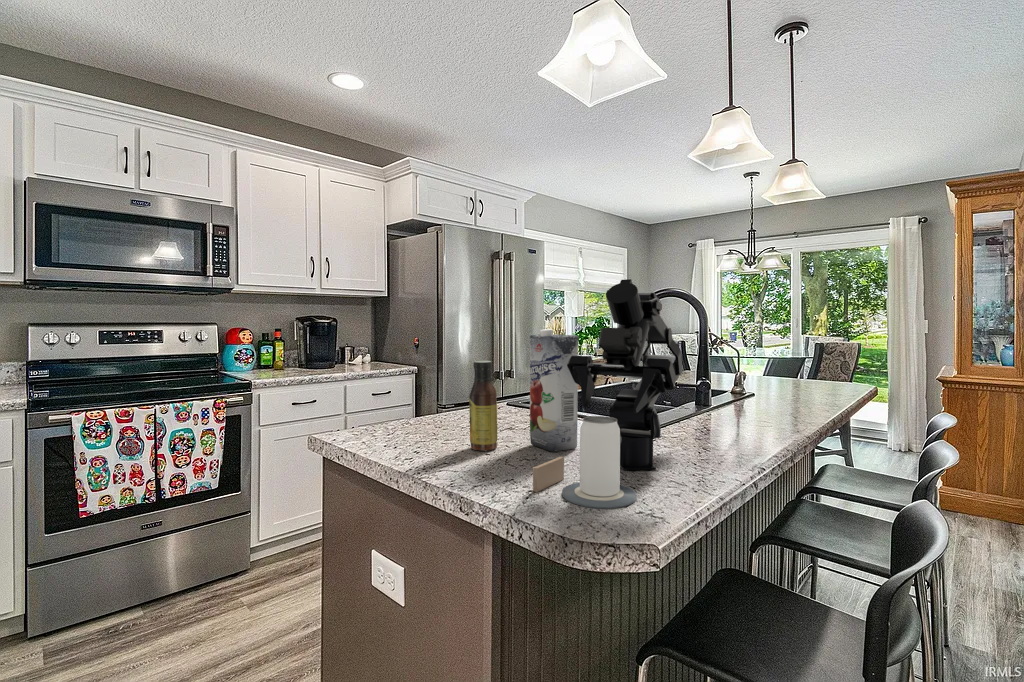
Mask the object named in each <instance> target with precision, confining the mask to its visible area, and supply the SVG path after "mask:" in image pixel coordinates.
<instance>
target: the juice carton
mask: <svg viewBox="0 0 1024 682" xmlns="http://www.w3.org/2000/svg"><path fill="white" fill-rule="evenodd" d="M539 332H540V334H532V335H531V334H530V335H529V436H530V438H529V439H530V444H531V445H532V446H535V447H537V448H540V449H543V450H546V451H548V452H550V453H554V452H559V451H567V450H573V449H574V450H575V449H576V448H577V447H578V403H579V402H578V392H579V391H578V390H579V389H578V386H579V384H577V383H575V382H574V380H573V378H572V375H571V373H570V371H569V369H568V366H567V364H568V361H569V359H570V357H571V356H579V354H578V353H579V351H578V349H579V338H580V336H579V335H576V334H574V335H573V334H554V329H552V328H546V329H545V328H544V329H540V330H539Z"/></svg>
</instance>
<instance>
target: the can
mask: <svg viewBox="0 0 1024 682" xmlns="http://www.w3.org/2000/svg"><path fill="white" fill-rule="evenodd" d="M579 482H580V490H581V491H582V492H583V493H584V494H586V495H589V496H593V497H612V496H615V495H616V494H617V493H618V492H619V490H620V485H621V467H620V428H619V426H618V424H617V419H616V418H612V417H609V416H606V415H605V416H603V415H592V416H584V417H583V418H582V424H581V425H580V429H579Z"/></svg>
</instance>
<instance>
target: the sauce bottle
mask: <svg viewBox="0 0 1024 682" xmlns="http://www.w3.org/2000/svg"><path fill="white" fill-rule="evenodd" d="M473 371H474V372H473V373H474V378H473V380H474V381H473V384H472V386H471V390H470V393H469V395H468V396H469V397H468V400H469V401H468V402H469V403H468V404H469V405H468V406H469V407H468V408H469V409H468V411H469V442H470V448H471V449H472V450H475V451H481V452H490V451H492V450H493V451H494V450H496V449H497V447H498V440H499V439H498V401H497V389H496V388H495V386H494V384H493V383H492V361H491V360H475V361H473Z"/></svg>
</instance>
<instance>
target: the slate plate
mask: <svg viewBox="0 0 1024 682" xmlns="http://www.w3.org/2000/svg"><path fill="white" fill-rule="evenodd" d="M561 491H562V492H561V495H562V498H563V499H564V500H566V501H567V502H569V503H571V504H573V505H577V506H580V507H583V508H584V507H586V508H590V509H591V508H592V509H618V508H625V507H627V506H631V505H633V504H634V503H635V502H636V501H637V493H636V491H635V490H634V489H632V488H631V487H628V486H625V485H622V484H620V490H619V492H618V493H617V494H616V495H615V496H612V497H593V496H589V495H586V494H584V493H583V492H582V491H581V490H580V481H579V482H575V483H571V484H568V485H566V486H564V487H563V489H562V490H561Z"/></svg>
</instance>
